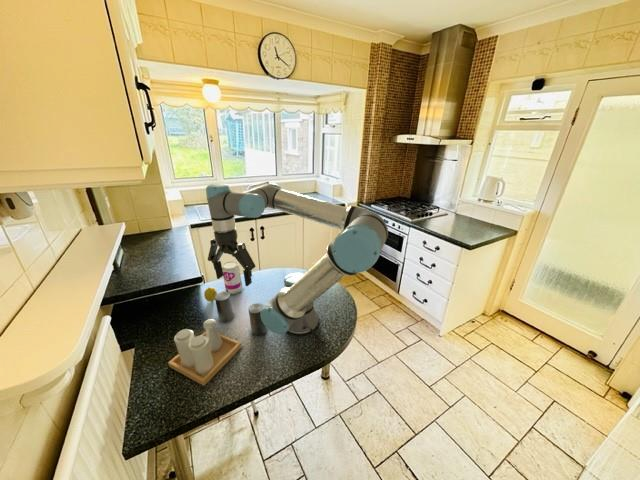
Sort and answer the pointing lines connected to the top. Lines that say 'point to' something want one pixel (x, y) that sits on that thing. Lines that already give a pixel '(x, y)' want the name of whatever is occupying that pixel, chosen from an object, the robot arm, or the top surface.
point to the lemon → (210, 294)
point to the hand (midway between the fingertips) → (234, 280)
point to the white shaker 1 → (184, 347)
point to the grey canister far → (224, 307)
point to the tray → (219, 360)
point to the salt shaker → (212, 335)
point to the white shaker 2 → (201, 355)
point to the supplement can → (232, 277)
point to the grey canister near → (256, 320)
